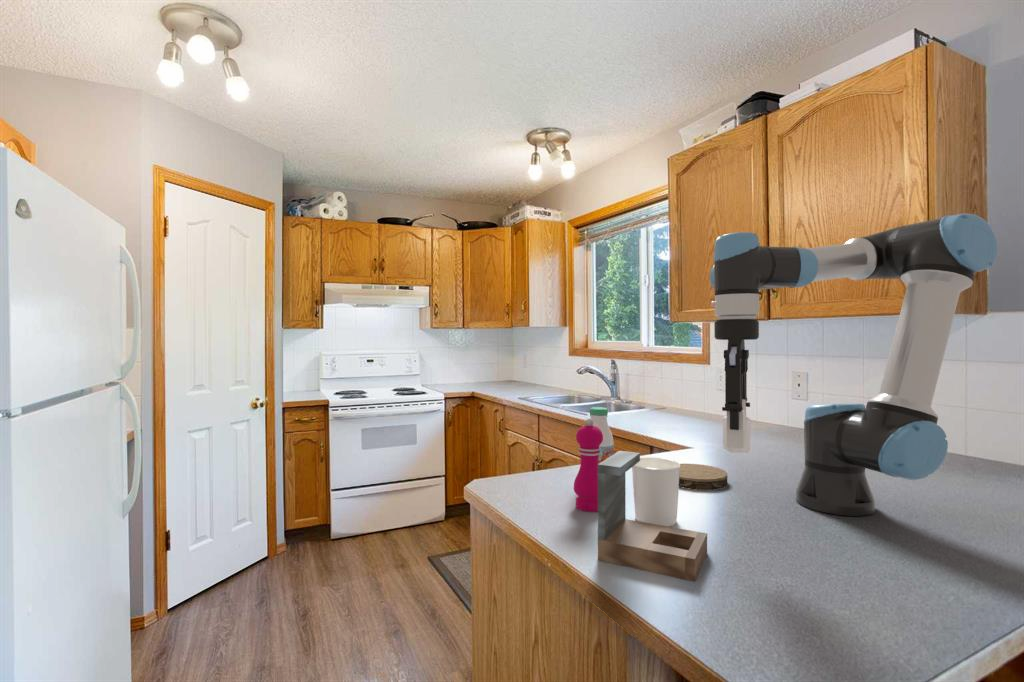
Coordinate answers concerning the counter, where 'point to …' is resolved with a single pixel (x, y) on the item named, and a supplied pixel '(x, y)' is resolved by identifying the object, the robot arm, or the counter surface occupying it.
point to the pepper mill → (588, 467)
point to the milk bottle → (603, 431)
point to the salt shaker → (746, 433)
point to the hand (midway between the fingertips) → (736, 444)
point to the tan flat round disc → (702, 477)
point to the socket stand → (641, 530)
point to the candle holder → (656, 490)
